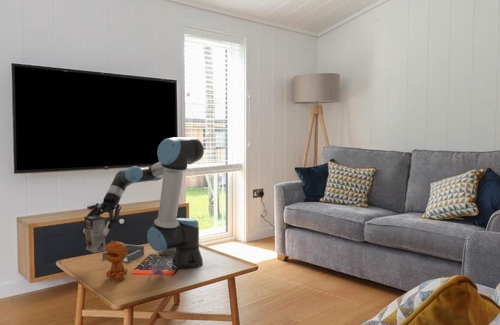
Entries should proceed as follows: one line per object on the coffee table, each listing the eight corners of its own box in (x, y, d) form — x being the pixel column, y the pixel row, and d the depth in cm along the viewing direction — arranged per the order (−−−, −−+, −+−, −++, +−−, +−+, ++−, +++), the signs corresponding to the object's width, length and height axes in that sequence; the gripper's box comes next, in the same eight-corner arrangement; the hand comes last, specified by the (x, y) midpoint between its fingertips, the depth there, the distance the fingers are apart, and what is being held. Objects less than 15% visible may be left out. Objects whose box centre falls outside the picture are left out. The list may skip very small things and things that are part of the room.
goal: (144, 255, 236) (143, 245, 236) (128, 262, 223) (128, 252, 223) (118, 252, 241) (118, 243, 241) (102, 259, 228) (102, 250, 228)
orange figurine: (101, 277, 201) (100, 238, 200) (125, 273, 206) (124, 235, 205) (106, 284, 191) (105, 244, 190) (131, 280, 197) (130, 240, 195)
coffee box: (85, 249, 212) (83, 216, 211) (98, 247, 216) (96, 214, 215) (93, 253, 205) (91, 219, 204) (106, 250, 209) (104, 217, 208)
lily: (163, 288, 190) (171, 266, 192) (137, 278, 188) (146, 257, 191) (162, 287, 201) (171, 267, 204) (138, 278, 200) (147, 258, 203)
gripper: (135, 201, 222) (118, 239, 209) (98, 200, 230) (78, 236, 216) (129, 192, 217) (111, 230, 203) (90, 191, 224) (70, 228, 211)
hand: (94, 233), depth 210 cm, fingers closed on coffee box, 10 cm apart
